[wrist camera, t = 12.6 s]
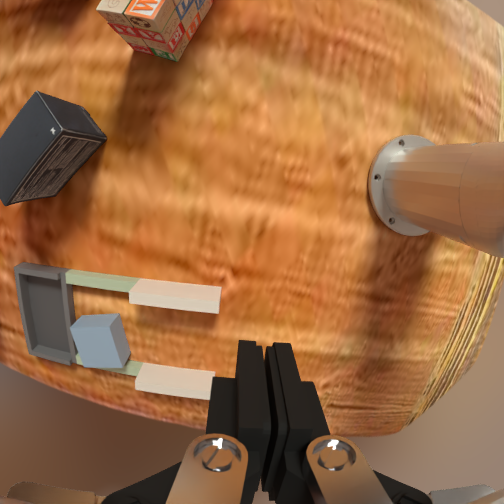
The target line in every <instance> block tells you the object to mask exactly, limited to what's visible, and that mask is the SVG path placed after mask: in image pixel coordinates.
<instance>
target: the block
mask: <svg viewBox="0 0 504 504" xmlns="http://www.w3.org/2000/svg"><path fill="white" fill-rule="evenodd" d="M70 330H71V333H72V336H73V339H74V342H75V345H76V347H77V350H78V353H79V355H80V358H81V361H82V363H83V366H84V367H91V368H123V366H124V365H125V363H126V361H127V359H128V357H129V355H130V353H131V351H130V348H129V345H128V342H127V338H126V335H125V332H124V328H123V325H122V321H121V317H120V314H119V313H118V314H101V315H82V316H81V317H80V318H79V319H78V320H77V321H76V322H75V323H74V324H73V325H72V326H71V327H70Z"/></svg>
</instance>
